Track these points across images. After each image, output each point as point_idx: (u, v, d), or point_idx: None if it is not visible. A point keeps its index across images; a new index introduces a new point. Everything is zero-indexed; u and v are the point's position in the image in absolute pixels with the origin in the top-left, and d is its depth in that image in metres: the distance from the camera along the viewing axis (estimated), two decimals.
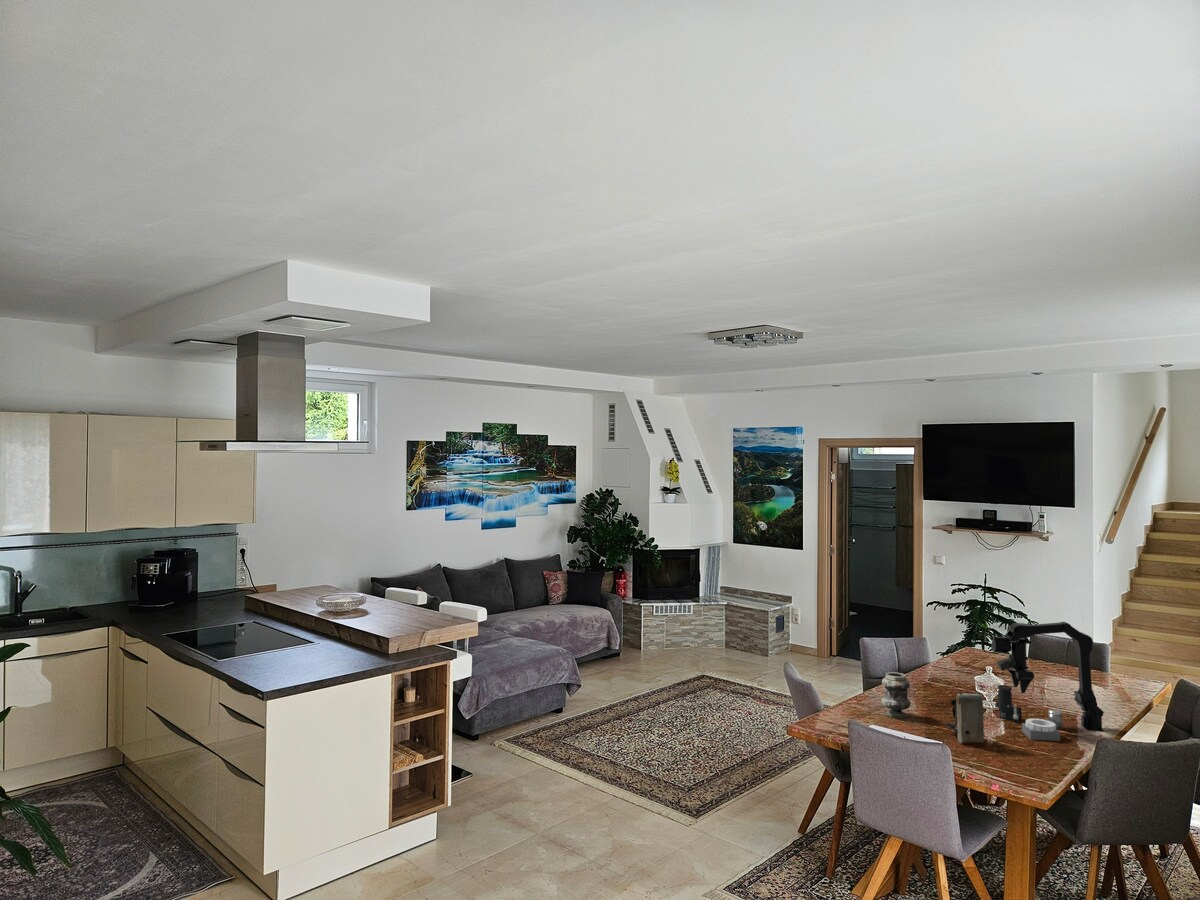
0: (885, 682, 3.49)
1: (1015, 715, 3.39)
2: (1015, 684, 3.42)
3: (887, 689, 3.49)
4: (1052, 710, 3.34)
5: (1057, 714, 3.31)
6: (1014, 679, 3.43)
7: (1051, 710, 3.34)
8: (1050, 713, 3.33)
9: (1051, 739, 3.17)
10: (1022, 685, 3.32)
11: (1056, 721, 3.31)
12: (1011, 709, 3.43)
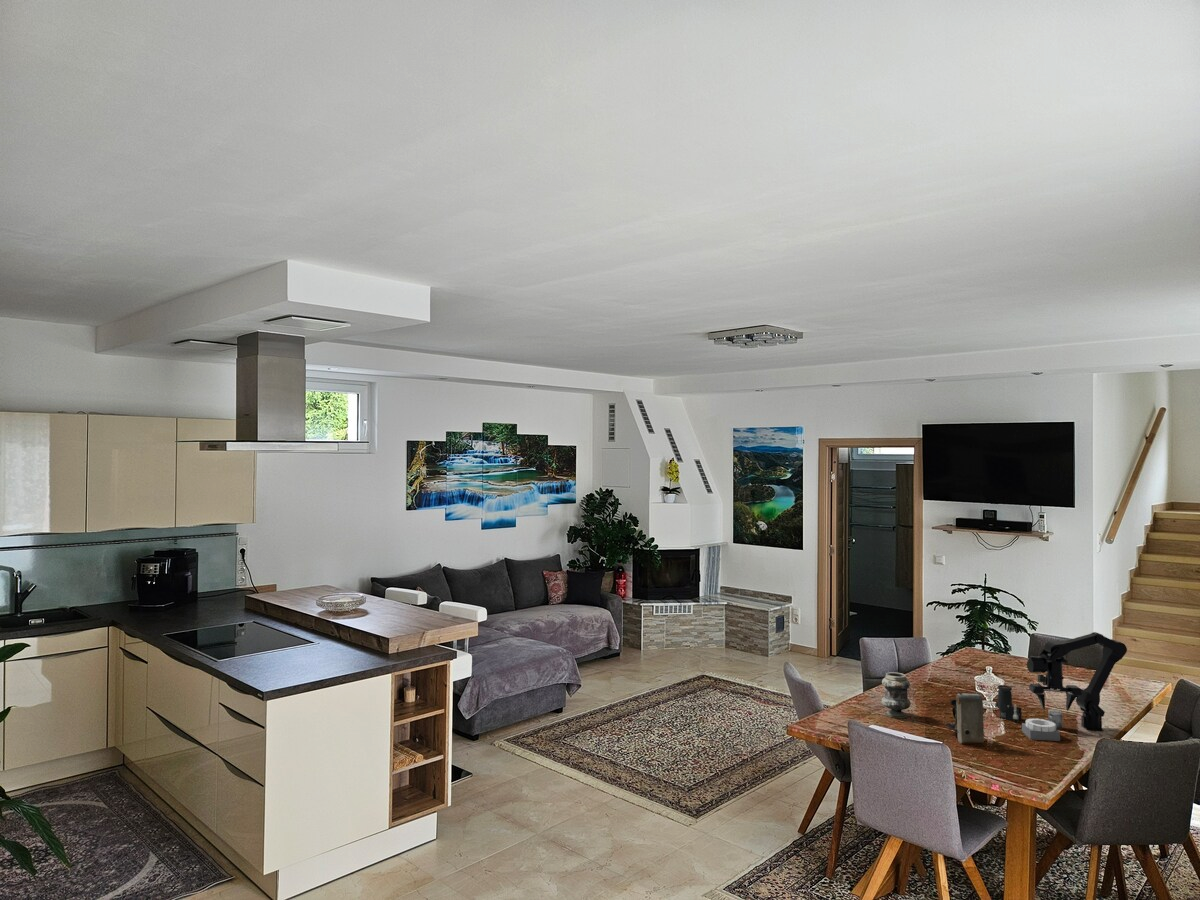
0: (885, 682, 3.49)
1: (1015, 715, 3.39)
2: (1066, 707, 3.33)
3: (887, 689, 3.49)
4: (1052, 710, 3.34)
5: (1057, 714, 3.31)
6: (1066, 702, 3.33)
7: (1051, 710, 3.34)
8: (1050, 713, 3.33)
9: (1051, 739, 3.17)
10: (1040, 701, 3.35)
11: (1056, 721, 3.31)
12: (1011, 709, 3.43)
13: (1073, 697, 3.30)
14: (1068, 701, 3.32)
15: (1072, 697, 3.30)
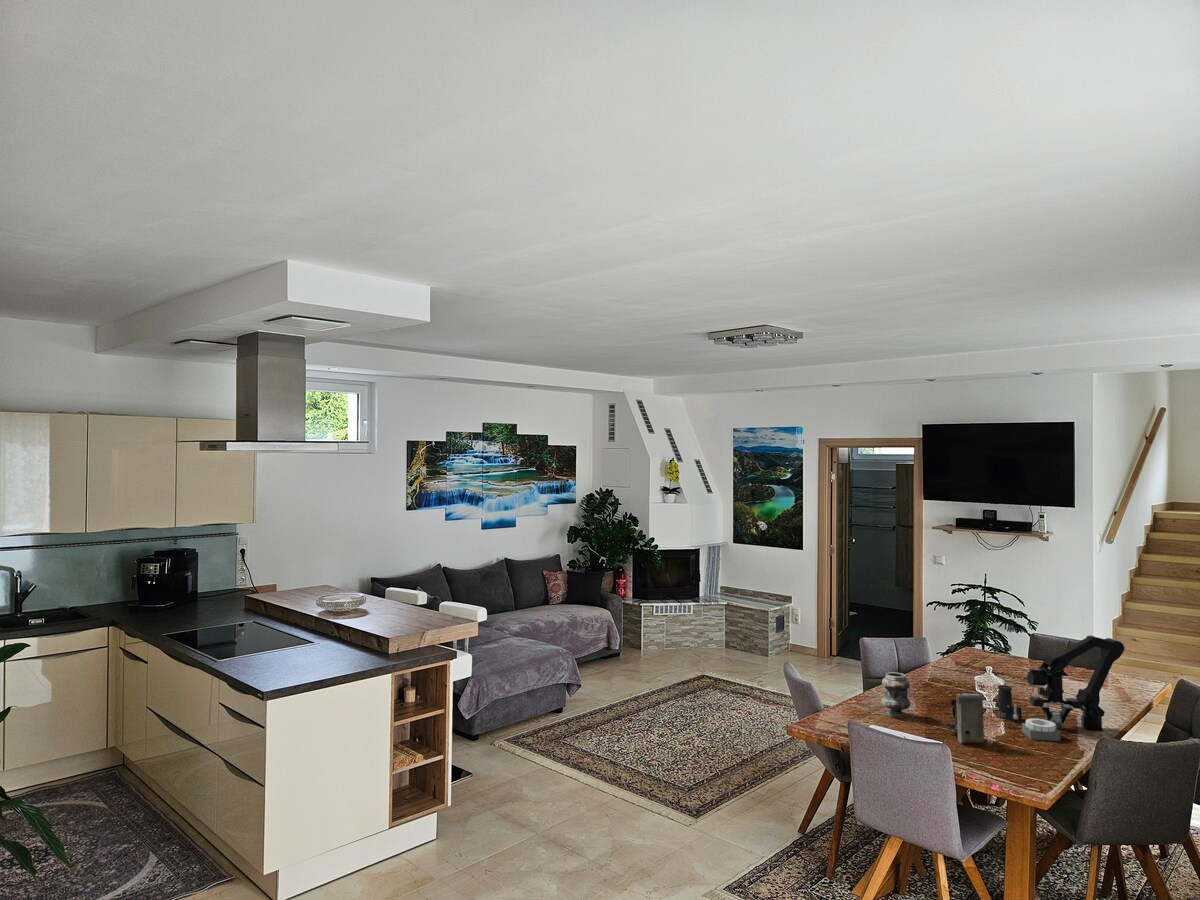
0: (885, 682, 3.49)
1: (1015, 715, 3.39)
2: None
3: (887, 689, 3.49)
4: (1052, 710, 3.34)
5: (1057, 714, 3.31)
6: None
7: (1051, 710, 3.34)
8: (1050, 713, 3.33)
9: (1051, 739, 3.17)
10: (1045, 714, 3.34)
11: (1056, 721, 3.31)
12: (1011, 709, 3.43)
13: (1068, 710, 3.30)
14: (1063, 714, 3.32)
15: (1067, 710, 3.30)
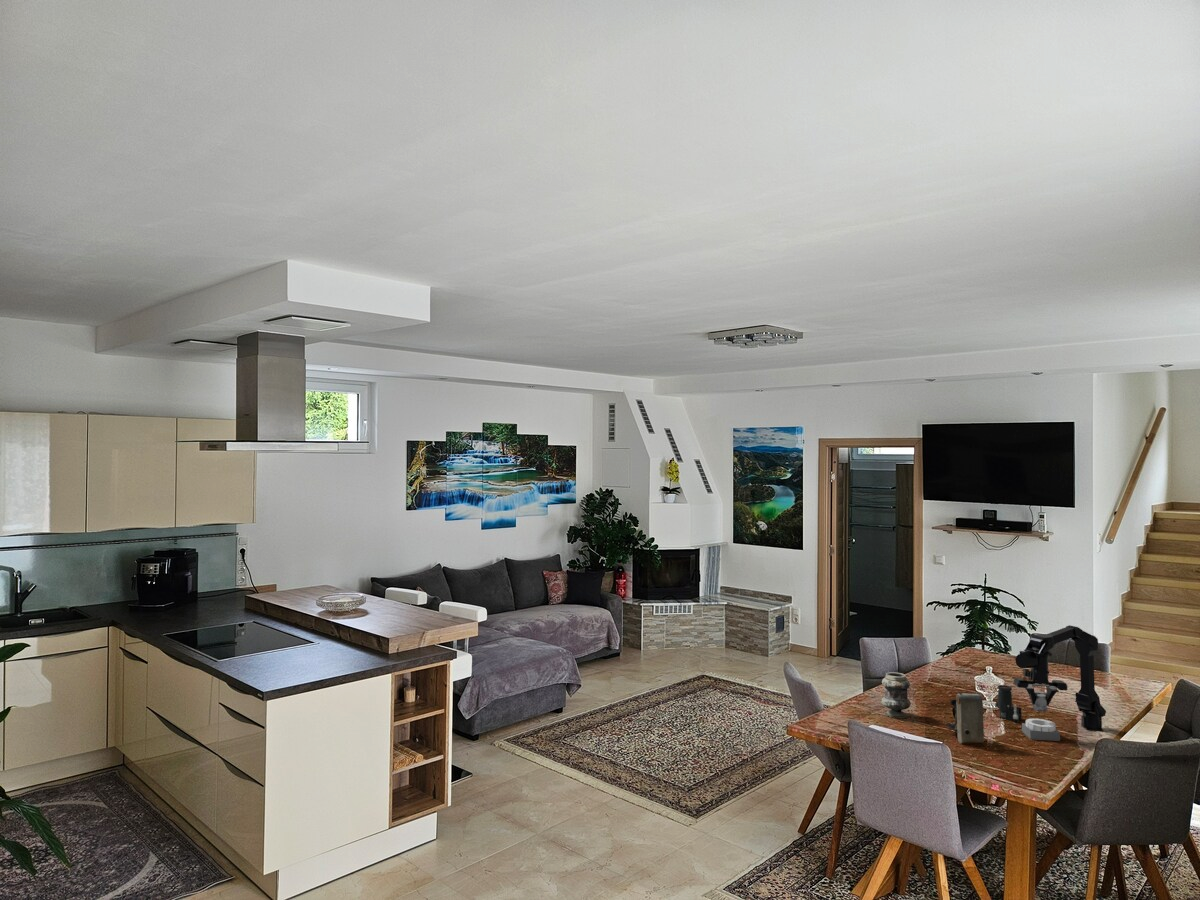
0: (885, 682, 3.49)
1: (1015, 715, 3.39)
2: None
3: (887, 689, 3.49)
4: (1037, 692, 3.25)
5: (1042, 695, 3.21)
6: (1047, 697, 3.24)
7: (1036, 692, 3.25)
8: (1035, 694, 3.23)
9: (1051, 739, 3.17)
10: None
11: (1040, 702, 3.21)
12: (1011, 709, 3.43)
13: (1053, 692, 3.20)
14: (1048, 696, 3.22)
15: (1052, 692, 3.20)
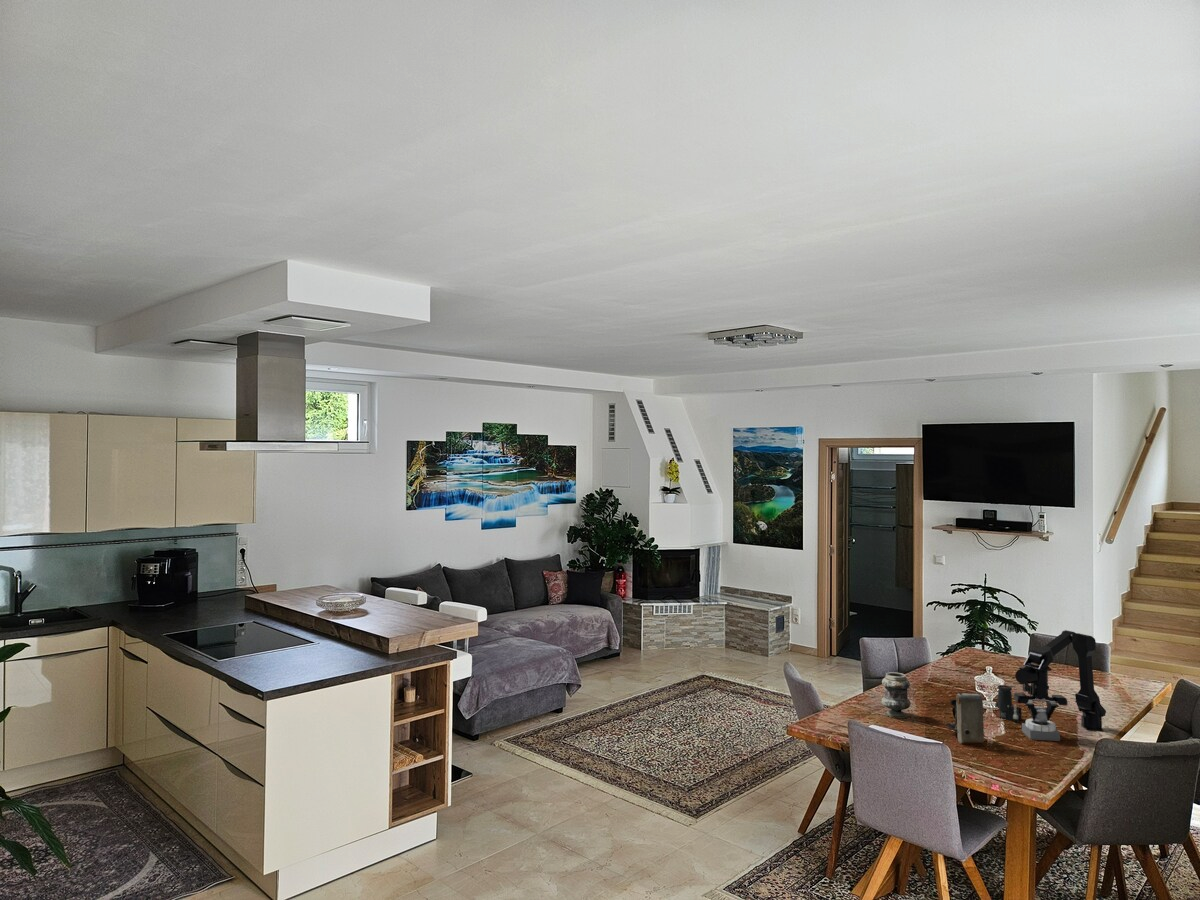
0: (885, 682, 3.49)
1: (1015, 715, 3.39)
2: None
3: (887, 689, 3.49)
4: (1037, 707, 3.24)
5: (1042, 711, 3.21)
6: (1047, 712, 3.23)
7: (1036, 707, 3.24)
8: (1035, 710, 3.22)
9: (1051, 739, 3.17)
10: (1030, 711, 3.24)
11: (1041, 718, 3.21)
12: (1011, 709, 3.43)
13: (1053, 707, 3.19)
14: (1048, 711, 3.21)
15: (1052, 707, 3.20)
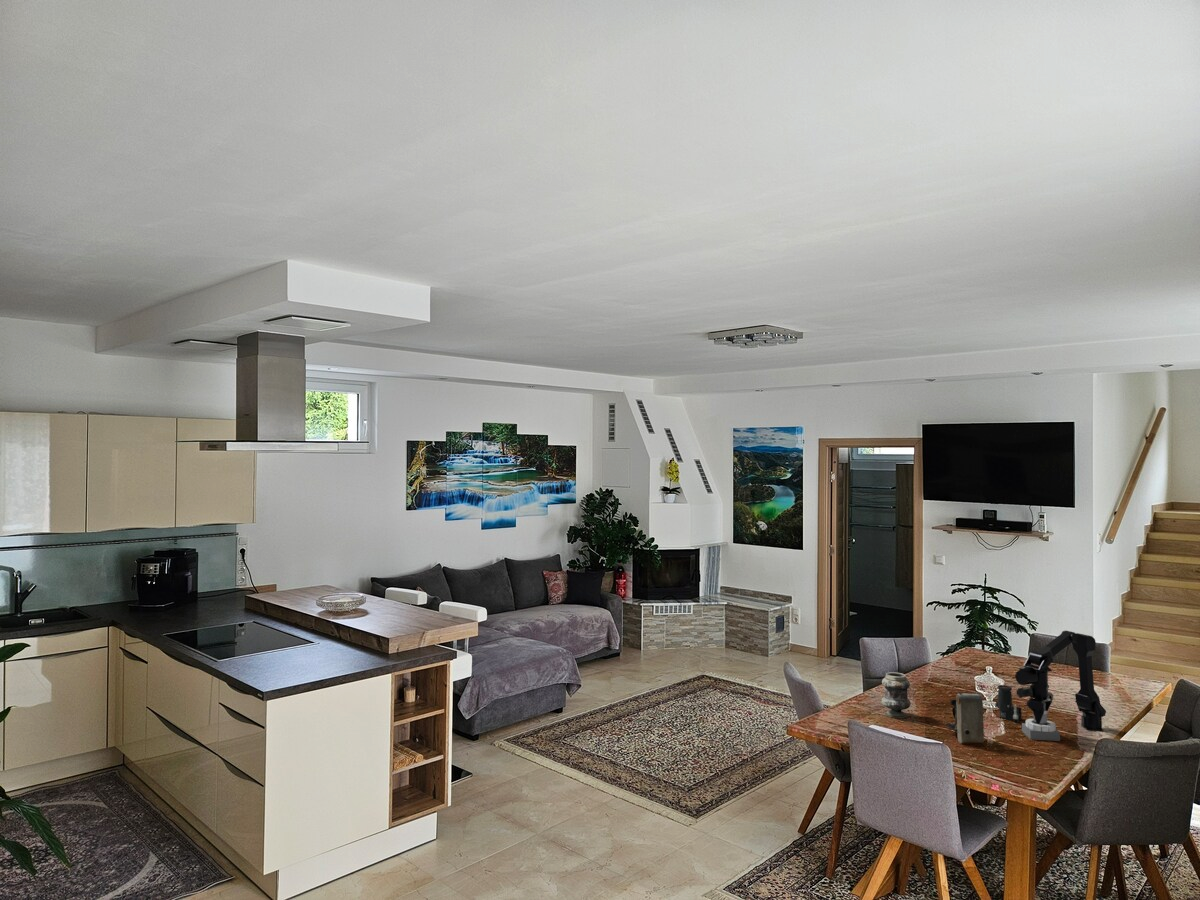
0: (885, 682, 3.49)
1: (1015, 715, 3.39)
2: None
3: (887, 689, 3.49)
4: None
5: None
6: None
7: None
8: None
9: (1051, 739, 3.17)
10: (1036, 715, 3.19)
11: (1046, 720, 3.21)
12: (1011, 709, 3.43)
13: None
14: (1045, 709, 3.26)
15: (1050, 703, 3.25)
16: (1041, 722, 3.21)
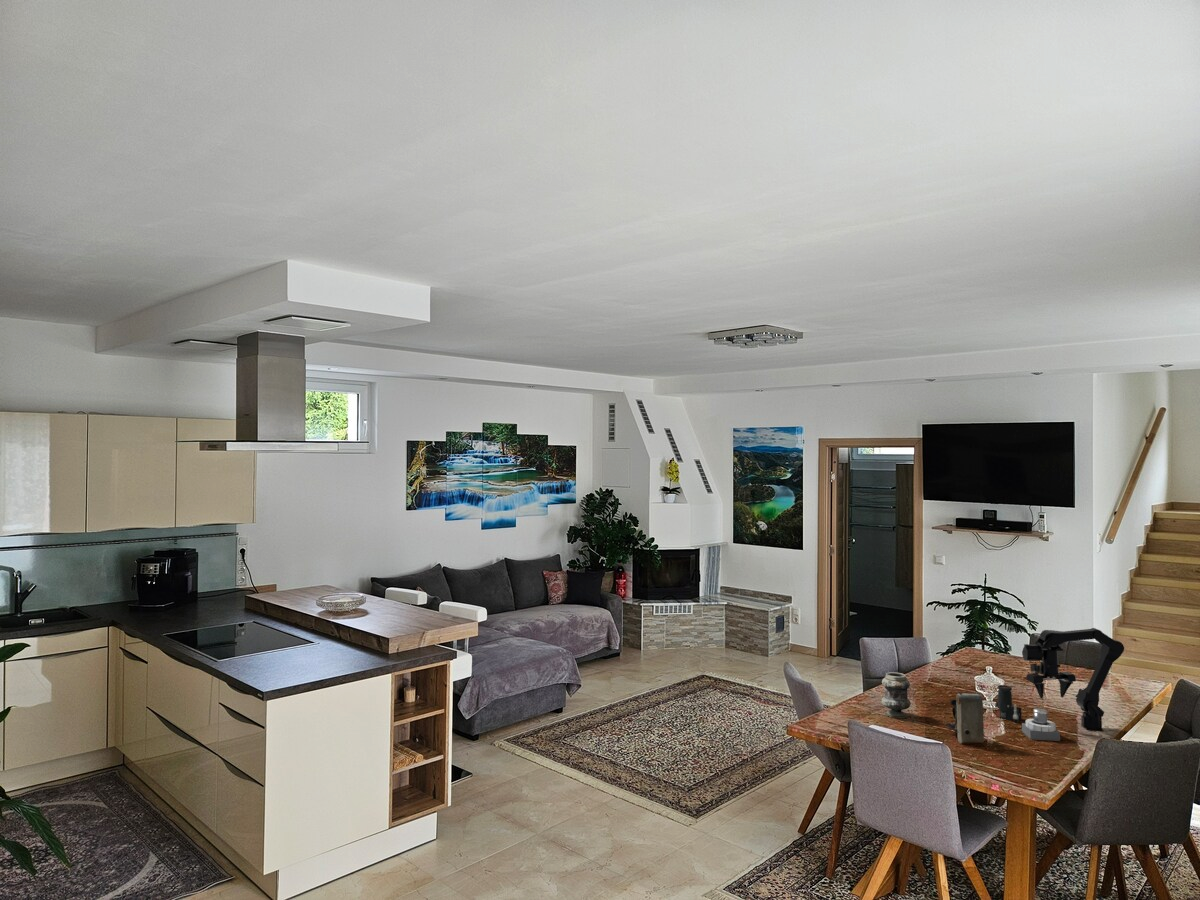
0: (885, 682, 3.49)
1: (1015, 715, 3.39)
2: (1061, 694, 3.35)
3: (887, 689, 3.49)
4: (1037, 710, 3.23)
5: None
6: (1061, 689, 3.36)
7: (1037, 710, 3.23)
8: (1042, 713, 3.21)
9: (1051, 739, 3.17)
10: (1037, 690, 3.35)
11: (1046, 720, 3.21)
12: (1011, 709, 3.43)
13: (1069, 684, 3.33)
14: (1063, 688, 3.34)
15: (1068, 684, 3.33)
16: (1041, 722, 3.21)
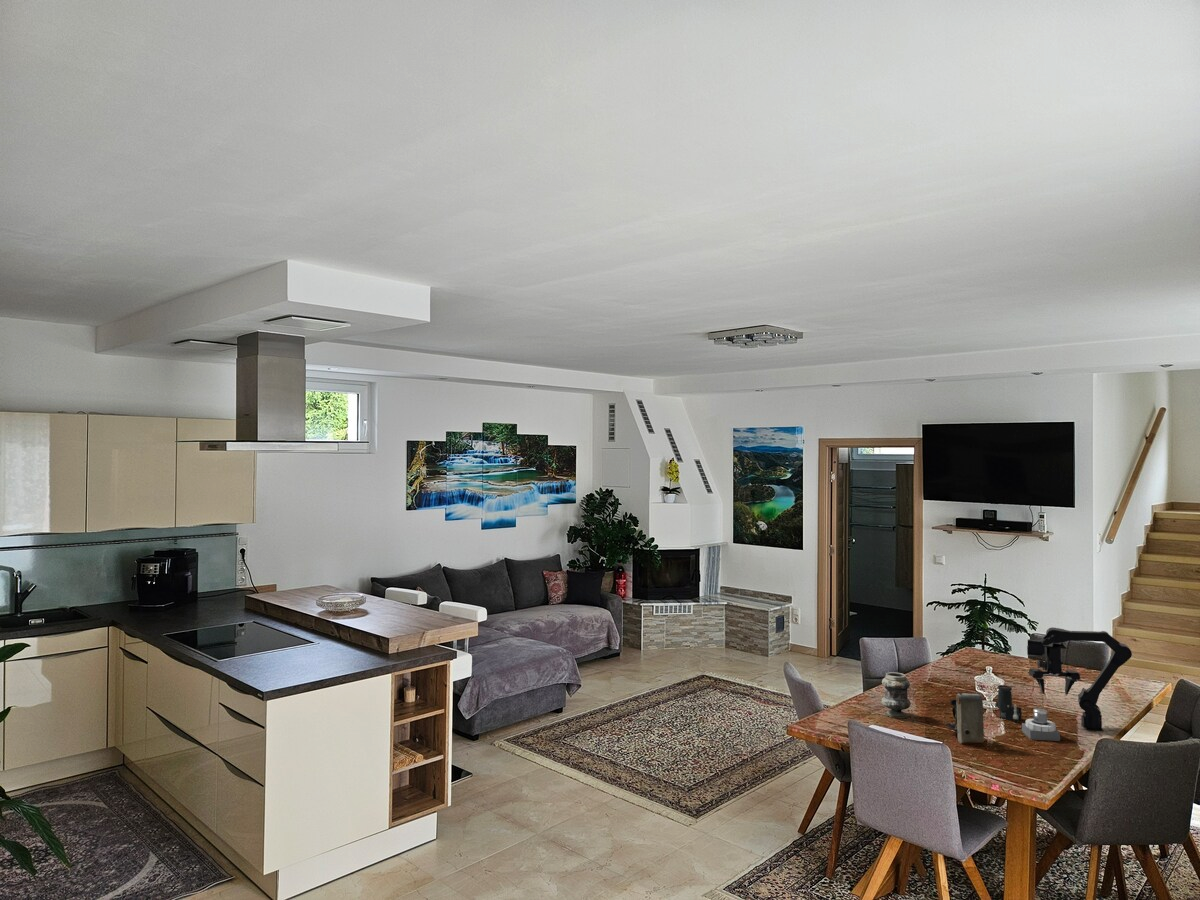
0: (885, 682, 3.49)
1: (1015, 715, 3.39)
2: (1065, 692, 3.38)
3: (887, 689, 3.49)
4: (1037, 710, 3.23)
5: None
6: (1065, 686, 3.39)
7: (1037, 710, 3.23)
8: (1042, 713, 3.21)
9: (1051, 739, 3.17)
10: (1039, 685, 3.41)
11: (1046, 720, 3.21)
12: (1011, 709, 3.43)
13: (1072, 682, 3.35)
14: (1067, 686, 3.37)
15: (1071, 682, 3.35)
16: (1041, 722, 3.21)
